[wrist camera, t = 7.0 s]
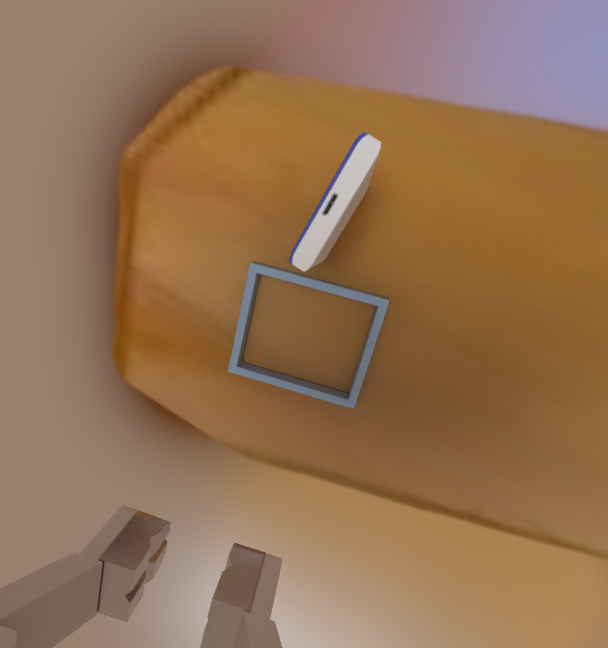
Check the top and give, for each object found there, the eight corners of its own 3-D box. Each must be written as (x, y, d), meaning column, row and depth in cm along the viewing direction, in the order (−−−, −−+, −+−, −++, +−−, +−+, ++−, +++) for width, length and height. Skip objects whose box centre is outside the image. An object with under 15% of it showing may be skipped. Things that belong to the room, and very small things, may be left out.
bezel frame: (387, 298, 32) (389, 300, 30) (353, 402, 34) (353, 409, 33) (254, 261, 32) (250, 262, 31) (232, 366, 35) (227, 371, 34)
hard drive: (309, 255, 32) (285, 260, 20) (355, 176, 29) (360, 128, 17) (323, 263, 32) (307, 274, 20) (370, 185, 29) (385, 143, 17)
